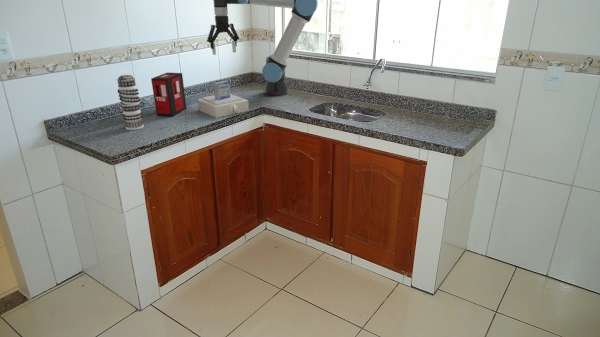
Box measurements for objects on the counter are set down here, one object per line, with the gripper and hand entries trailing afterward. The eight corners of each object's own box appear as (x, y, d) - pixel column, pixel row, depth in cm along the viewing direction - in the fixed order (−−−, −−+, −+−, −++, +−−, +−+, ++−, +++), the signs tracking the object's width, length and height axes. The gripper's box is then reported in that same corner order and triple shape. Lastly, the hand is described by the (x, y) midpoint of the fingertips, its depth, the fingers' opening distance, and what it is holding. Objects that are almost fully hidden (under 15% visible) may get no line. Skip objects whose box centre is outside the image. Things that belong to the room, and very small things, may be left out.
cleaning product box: (172, 107, 229) (167, 72, 221) (186, 108, 228) (182, 73, 219) (157, 116, 214) (151, 78, 206) (172, 117, 213) (167, 79, 205)
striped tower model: (123, 131, 192) (113, 78, 182) (125, 125, 200) (115, 74, 190) (143, 129, 194) (134, 77, 184) (145, 123, 202) (136, 73, 192)
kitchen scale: (230, 104, 236) (229, 91, 233) (249, 111, 221) (248, 98, 218) (198, 110, 224) (197, 97, 221) (217, 118, 210) (216, 105, 207)
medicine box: (219, 99, 216) (218, 83, 212) (214, 98, 219) (212, 82, 215) (230, 97, 222) (229, 81, 218) (225, 95, 224) (223, 80, 221)
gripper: (204, 16, 220) (208, 56, 229) (243, 14, 235) (245, 52, 243) (198, 16, 226) (202, 54, 234) (236, 14, 240) (239, 50, 249)
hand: (224, 53), depth 239 cm, fingers open, 13 cm apart
